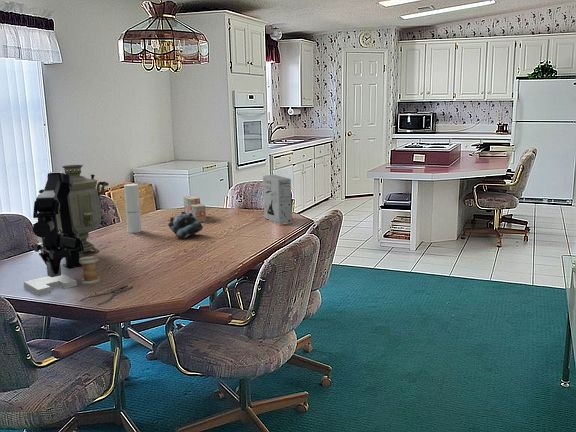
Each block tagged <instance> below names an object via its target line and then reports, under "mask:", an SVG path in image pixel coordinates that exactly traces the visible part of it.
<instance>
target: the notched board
mask: <svg viewBox="0 0 576 432" xmlns="http://www.w3.org/2000/svg"><path fill="white" fill-rule="evenodd" d="M77 284H78V283H77V280H75V279H73V278H71V277H70V276H68V275H65V274H63V273H61V275H60V276H56V277H50V276H48V275H47V276H43V277H38V278H34V279H30V280H25V281H23V286H24V288H26V289H27V290H29V291H31V292H33V293H35V294H36V295H38V296H40V295H45V294H49V293H51V292H52V289H54V288H58V287H61V288H62V289H64V290H65V289H70V288H74V287H77V286H78V285H77Z"/></svg>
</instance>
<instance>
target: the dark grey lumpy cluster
mask: <svg viewBox="0 0 576 432" xmlns="http://www.w3.org/2000/svg"><path fill="white" fill-rule="evenodd" d="M169 219H170V220H169V221H168V223H167V226H168V227H169V229H170V230H171V231H172V232H173V233H174V234H175V236H176V238H177V239H178V240H185V239H186V238H188V237H190V236H192V235H195V234H197V233H199V232H200V231H202V230H203V225H202V223H201V222H197V221H196V219H195V218H194V217H193V215H192V213H189V214H186V213H185V211H182V212H181V213H178V214H177V215H176V216H175V217H173V216H171V217H169Z"/></svg>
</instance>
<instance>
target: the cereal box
mask: <svg viewBox="0 0 576 432" xmlns="http://www.w3.org/2000/svg"><path fill="white" fill-rule="evenodd" d="M262 185H263V186H262V187H263V189H262V190H263V210H264V211H263V215H264V217H265V218H267V219H269V220H271V221H274V222H276V223H278V224H283V223H292V224H293V218H292V217H293V216H292V179H291V178H290V177H289V178H288V177H285V176H281V175H277V174H268V175H262ZM265 218H264V219H265ZM267 219H266V220H267ZM269 220H268V221H269ZM271 221H270V222H271ZM276 223H275V224H276ZM278 224H277V225H278Z"/></svg>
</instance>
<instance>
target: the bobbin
mask: <svg viewBox="0 0 576 432" xmlns="http://www.w3.org/2000/svg"><path fill="white" fill-rule="evenodd" d="M99 261H100V260H99V257H98V256H96V255H95V256H93V255H91V256H83V257H80V259H79V263H81V264H83V265H82V273H83V278H81V279H80V284H82V285H95V284H99V283H100V282H101V277H100V276H98V272H97V271H98V270H97V263H98V262H99Z"/></svg>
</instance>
